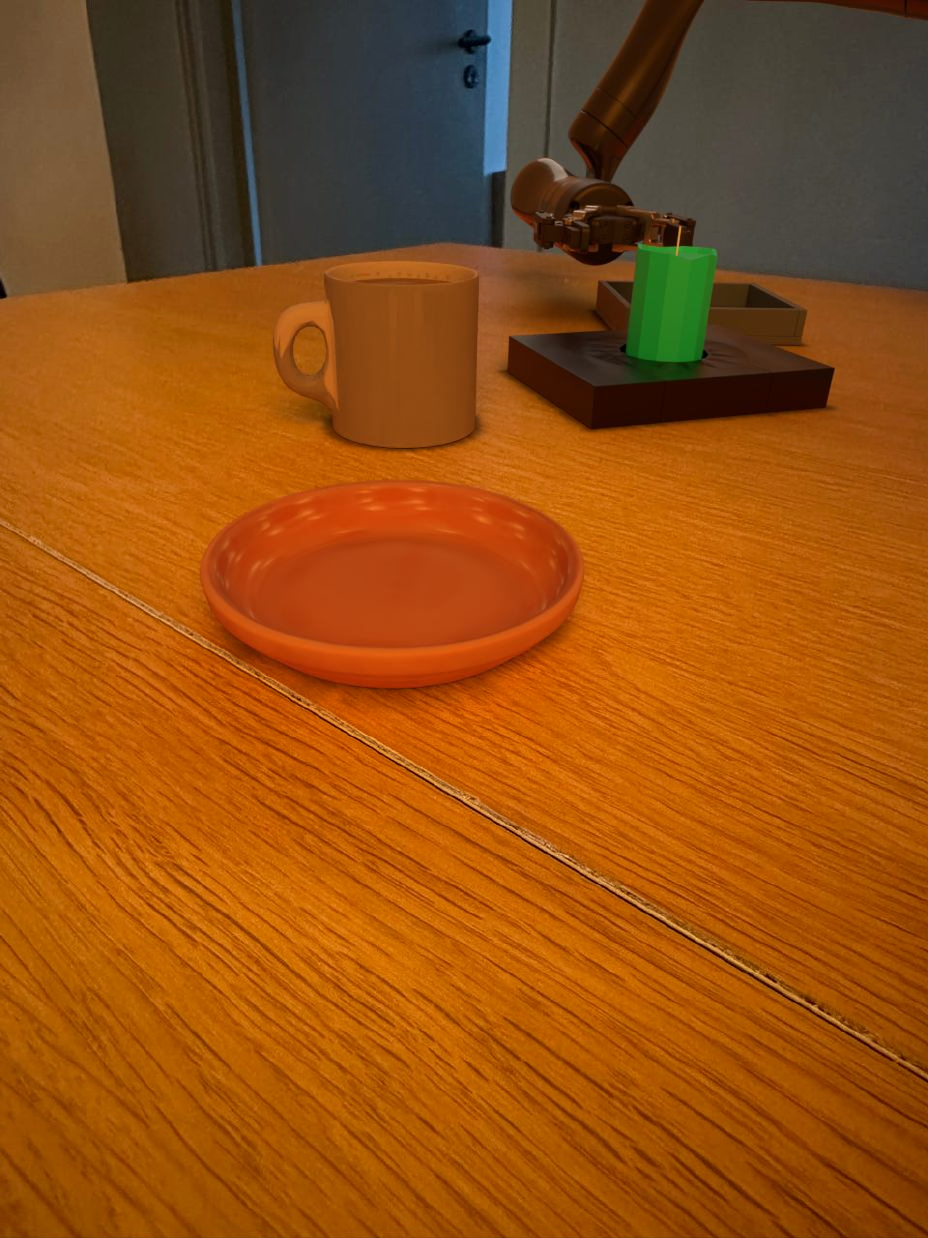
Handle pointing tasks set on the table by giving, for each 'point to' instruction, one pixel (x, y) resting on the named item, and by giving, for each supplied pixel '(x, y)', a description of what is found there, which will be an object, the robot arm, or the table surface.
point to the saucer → (392, 581)
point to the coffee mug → (391, 351)
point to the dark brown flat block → (665, 378)
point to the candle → (670, 302)
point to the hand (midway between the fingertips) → (634, 240)
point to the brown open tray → (720, 310)
